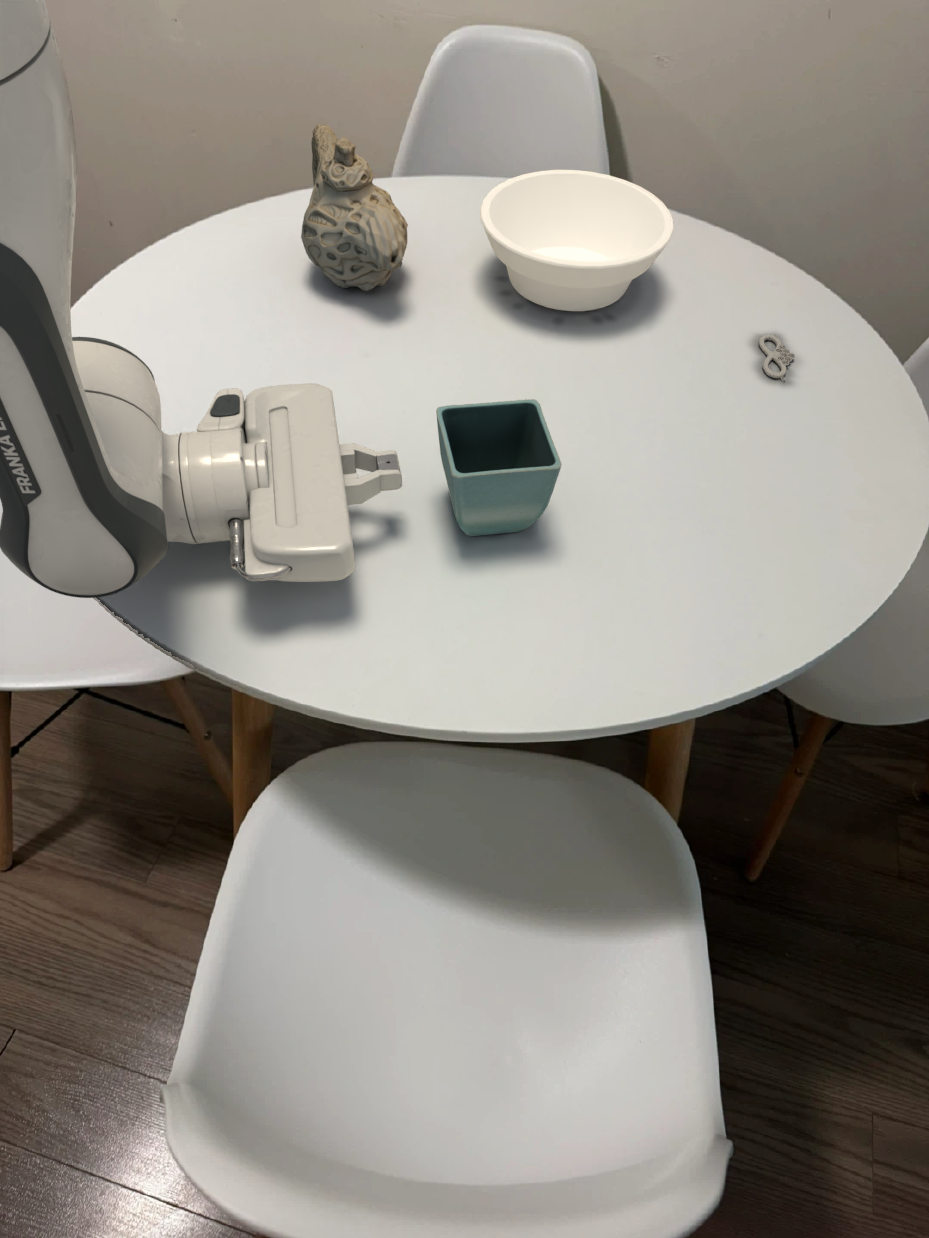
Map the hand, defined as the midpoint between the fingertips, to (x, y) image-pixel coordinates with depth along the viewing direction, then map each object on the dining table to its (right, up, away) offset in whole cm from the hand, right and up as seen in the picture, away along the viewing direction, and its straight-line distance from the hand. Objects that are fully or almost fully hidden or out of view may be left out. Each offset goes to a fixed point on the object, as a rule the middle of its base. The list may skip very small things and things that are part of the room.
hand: (399, 469), depth 72 cm
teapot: (-7, +27, +29) cm, 41 cm away
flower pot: (+8, -3, +5) cm, 10 cm away
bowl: (+17, +26, +29) cm, 43 cm away
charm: (+39, +15, +21) cm, 47 cm away
